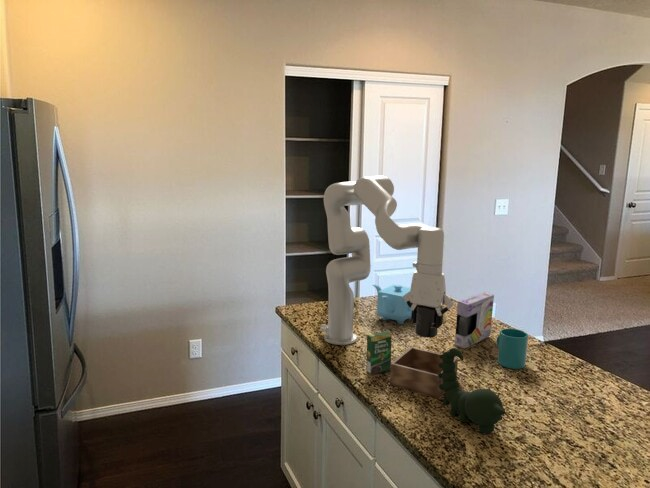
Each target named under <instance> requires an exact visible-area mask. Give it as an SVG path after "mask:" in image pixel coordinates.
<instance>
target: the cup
mask: <svg viewBox="0 0 650 488" xmlns="http://www.w3.org/2000/svg"><path fill="white" fill-rule="evenodd" d="M528 341H529V334H528V333H527V332H526V331H524V330H521V329H517V328H503V329H501V330H500V331H499V335H498V336H497V337H496V346H497V348H498V349H497V350H498V352H497V362H498V364H499V365H500V366H502V367H504V368H507V369H511V370H520V369H523V368H525V367H526V362H527V353H528Z"/></svg>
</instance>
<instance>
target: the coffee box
mask: <svg viewBox="0 0 650 488" xmlns="http://www.w3.org/2000/svg"><path fill="white" fill-rule="evenodd" d="M391 360H392V333H391V332H389V331H388V330H386V331H382V332H376V333H371V334H366V372H367V373H368V374H369V375H371V376H372V375H377V374H379V373H385V372H390V364H391V363H392V361H391Z"/></svg>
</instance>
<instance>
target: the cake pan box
mask: <svg viewBox="0 0 650 488" xmlns="http://www.w3.org/2000/svg"><path fill="white" fill-rule="evenodd" d="M494 298H495V294H493V293H489V292H486V291H484V292H480V293H479V294H474V295H471V296H468V297H467V298H464V299H461V300H458V301H457V306H456V307H457V309H456V322H455V334H454V335H455V336H454V346H456V347H457V348H458V347H459V348H461V349H467V348H469V347H471V346H473V345H475V344H477V343H479V342H481V341H483V340H485V339H487V338H489V337H491V329H492V322H493V321H492V318H493V310H494V309H493V308H494Z"/></svg>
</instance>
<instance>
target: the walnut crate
mask: <svg viewBox="0 0 650 488" xmlns="http://www.w3.org/2000/svg"><path fill="white" fill-rule="evenodd" d="M441 354H442V355H443V353H438V352H435V351H430V350H427V349H421V348H417V347H413V346H410V347H408V349H406V350H405V351H404V352H403V353H401V355H399V356H398V357H396V359H394V360H393V361H391V364H390V371H389V385H390V386H393V387H395V388H396V387H397V388H399V389H403V390H406V391H407V390H408V391H411V392H413V393H417V394H420V395H424V396H428V397H432V398H435V399H441V397H442V396H443V395H444V394H446V392H445V391H444V390H441V389H439V385H440V384H442V383H443V379H442V378H439V377H438V374H439V373H442V372H443V370H442V368H440V367H439V363H442V362H443V361H442V359H440V355H441ZM458 359H459V357H457V356H456V357H454V363H455V366H456V367H455V370H454V371H455V372H456V374H458V364H459V363H458V361H459V360H458Z"/></svg>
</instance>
